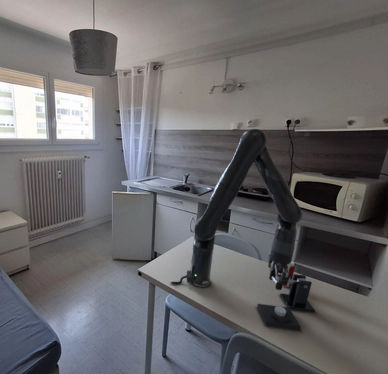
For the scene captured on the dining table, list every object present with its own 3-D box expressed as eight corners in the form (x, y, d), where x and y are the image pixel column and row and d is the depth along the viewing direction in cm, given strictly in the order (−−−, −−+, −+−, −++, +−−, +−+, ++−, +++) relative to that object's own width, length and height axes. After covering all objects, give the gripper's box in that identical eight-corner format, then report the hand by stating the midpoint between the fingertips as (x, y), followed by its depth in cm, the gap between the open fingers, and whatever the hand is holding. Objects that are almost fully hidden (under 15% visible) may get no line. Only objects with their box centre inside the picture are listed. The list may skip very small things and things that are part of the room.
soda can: (292, 288, 105) (297, 266, 102) (280, 286, 106) (285, 264, 103) (287, 281, 110) (292, 260, 107) (276, 279, 111) (280, 258, 108)
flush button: (276, 316, 84) (277, 312, 84) (272, 309, 88) (273, 305, 87) (287, 317, 84) (288, 313, 84) (282, 310, 87) (283, 306, 87)
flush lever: (276, 287, 93) (276, 282, 92) (271, 279, 97) (271, 274, 97) (308, 288, 91) (309, 283, 90) (301, 280, 95) (302, 275, 95)
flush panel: (265, 326, 84) (267, 317, 83) (256, 307, 93) (258, 299, 92) (299, 330, 83) (301, 322, 82) (287, 311, 91) (289, 303, 90)
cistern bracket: (288, 309, 93) (294, 283, 89) (279, 295, 100) (284, 271, 97) (314, 312, 91) (321, 286, 88) (303, 298, 99) (309, 273, 96)
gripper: (265, 240, 98) (259, 273, 102) (280, 258, 84) (272, 295, 89) (283, 241, 97) (276, 274, 101) (302, 260, 83) (293, 297, 88)
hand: (275, 284), depth 95 cm, fingers open, 5 cm apart
